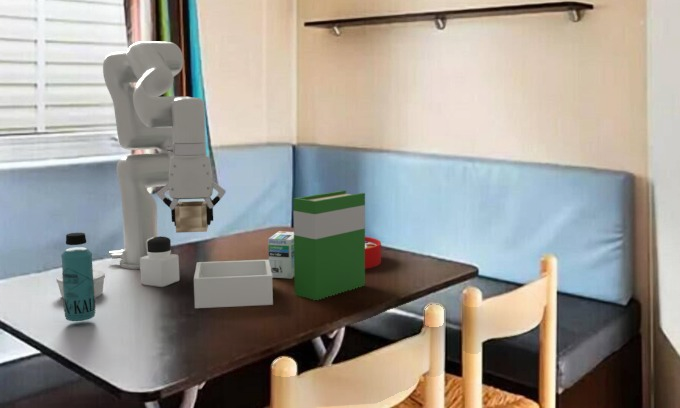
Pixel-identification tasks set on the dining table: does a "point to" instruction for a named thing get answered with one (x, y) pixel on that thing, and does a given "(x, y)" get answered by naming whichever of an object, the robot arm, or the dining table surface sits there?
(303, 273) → the hardback book
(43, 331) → the dining table surface
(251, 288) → the grey plastic crate
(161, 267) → the medicine bottle
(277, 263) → the light bulb box
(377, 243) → the toy clock
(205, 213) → the small wooden crate
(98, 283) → the ramekin
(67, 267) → the beverage bottle
